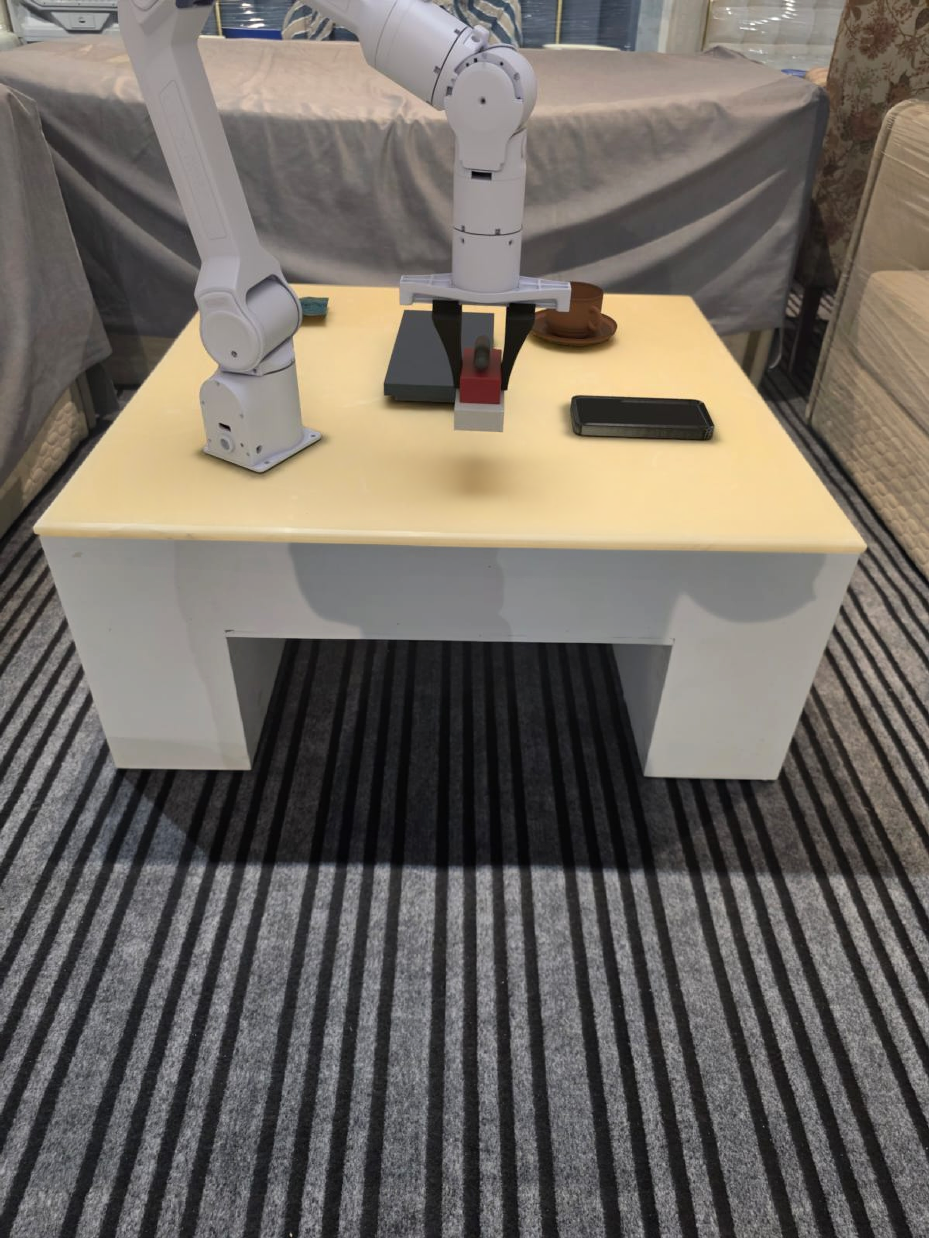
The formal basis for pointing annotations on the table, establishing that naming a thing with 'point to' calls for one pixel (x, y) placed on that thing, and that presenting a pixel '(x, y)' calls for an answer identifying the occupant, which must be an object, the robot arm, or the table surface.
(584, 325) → the cup and saucer
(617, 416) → the phone
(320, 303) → the terrain model
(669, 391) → the table surface
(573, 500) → the table surface
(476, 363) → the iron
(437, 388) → the grey base platform
